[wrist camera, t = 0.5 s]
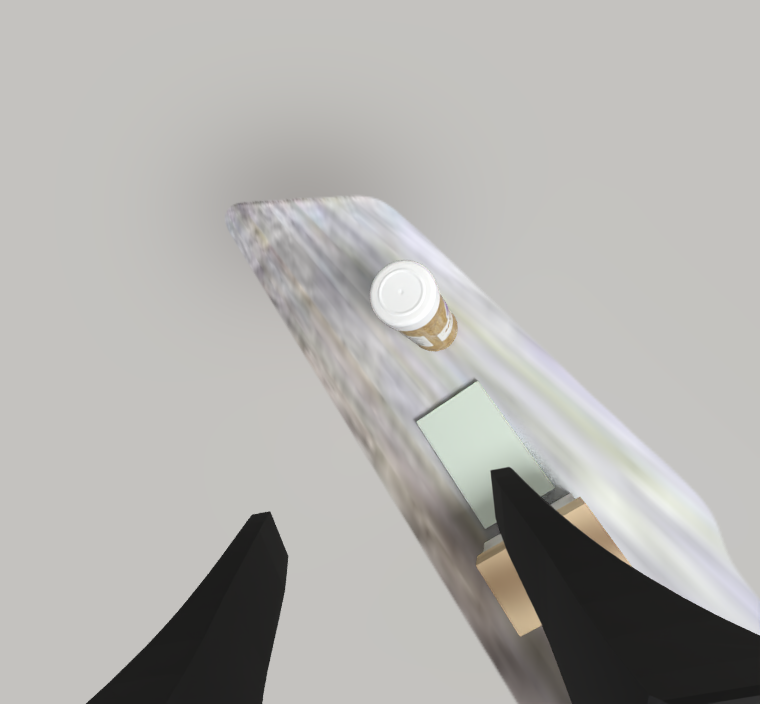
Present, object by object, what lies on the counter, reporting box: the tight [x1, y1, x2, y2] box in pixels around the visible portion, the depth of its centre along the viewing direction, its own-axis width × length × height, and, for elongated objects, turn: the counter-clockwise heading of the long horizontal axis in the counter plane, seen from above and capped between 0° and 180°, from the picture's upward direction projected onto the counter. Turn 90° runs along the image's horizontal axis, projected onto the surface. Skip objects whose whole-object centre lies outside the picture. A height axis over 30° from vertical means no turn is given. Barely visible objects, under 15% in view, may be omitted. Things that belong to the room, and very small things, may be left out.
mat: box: [416, 381, 555, 529], centre depth 35 cm, size 11×7×1 cm, turn 34°
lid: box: [476, 497, 632, 637], centre depth 28 cm, size 5×9×3 cm, turn 123°
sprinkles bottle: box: [370, 260, 457, 351], centre depth 31 cm, size 5×5×14 cm
